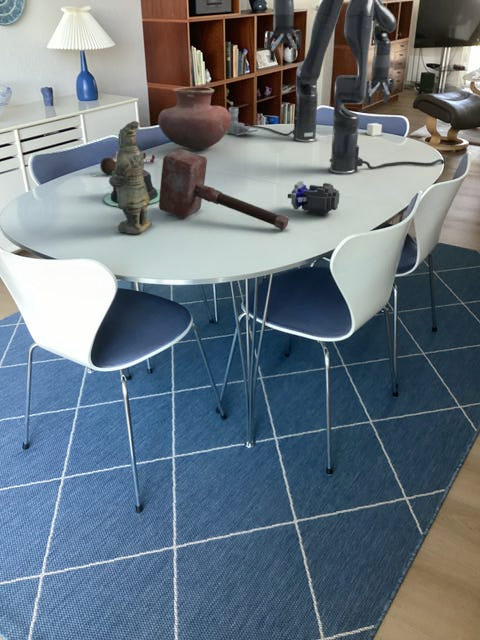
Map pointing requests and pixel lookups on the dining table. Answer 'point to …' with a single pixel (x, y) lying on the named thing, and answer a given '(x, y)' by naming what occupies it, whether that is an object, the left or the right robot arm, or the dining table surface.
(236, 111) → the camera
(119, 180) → the statue
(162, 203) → the sledgehammer
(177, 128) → the clay pot
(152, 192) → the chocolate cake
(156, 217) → the dining table surface
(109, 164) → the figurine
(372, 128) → the block
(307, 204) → the toy
